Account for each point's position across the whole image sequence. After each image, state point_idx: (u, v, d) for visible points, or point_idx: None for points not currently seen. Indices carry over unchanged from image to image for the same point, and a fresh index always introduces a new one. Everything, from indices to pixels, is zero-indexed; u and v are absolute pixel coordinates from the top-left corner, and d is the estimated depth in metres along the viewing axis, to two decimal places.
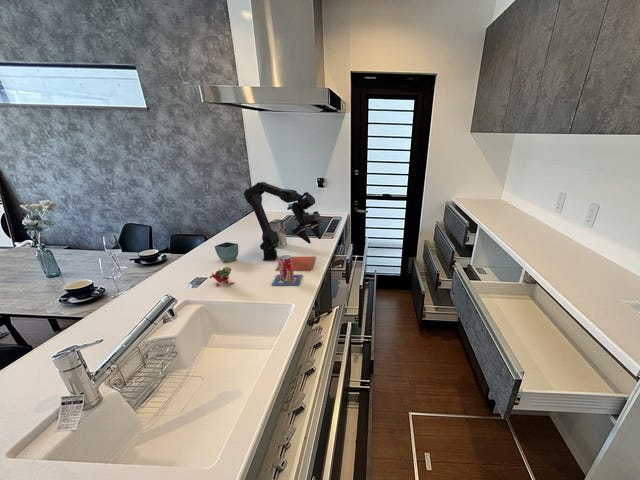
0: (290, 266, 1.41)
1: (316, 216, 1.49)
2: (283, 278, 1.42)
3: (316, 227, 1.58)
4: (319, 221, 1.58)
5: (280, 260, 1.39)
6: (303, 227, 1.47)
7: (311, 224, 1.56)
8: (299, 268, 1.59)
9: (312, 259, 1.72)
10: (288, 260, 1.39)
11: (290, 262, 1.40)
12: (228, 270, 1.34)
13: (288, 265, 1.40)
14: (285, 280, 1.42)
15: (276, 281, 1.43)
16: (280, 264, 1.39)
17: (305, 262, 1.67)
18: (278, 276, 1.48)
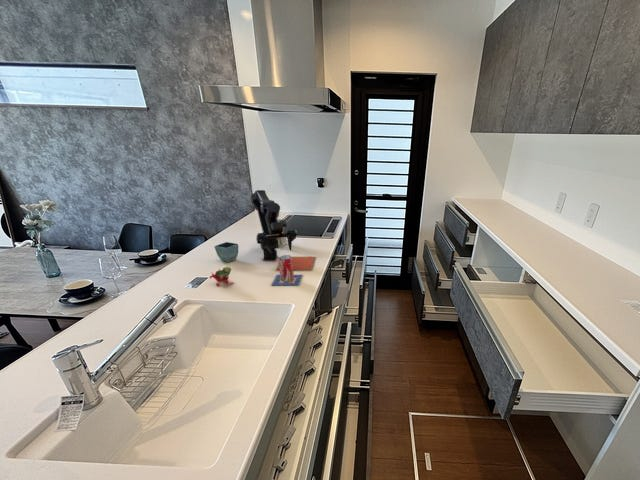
0: (290, 266, 1.41)
1: (277, 224, 1.42)
2: (283, 278, 1.42)
3: (288, 238, 1.49)
4: (292, 232, 1.49)
5: (280, 260, 1.39)
6: (263, 235, 1.42)
7: (283, 235, 1.49)
8: (299, 268, 1.59)
9: (312, 259, 1.72)
10: (288, 260, 1.39)
11: (290, 262, 1.40)
12: (228, 270, 1.34)
13: (288, 265, 1.40)
14: (285, 280, 1.42)
15: (276, 281, 1.43)
16: (280, 264, 1.39)
17: (305, 262, 1.67)
18: (278, 276, 1.48)
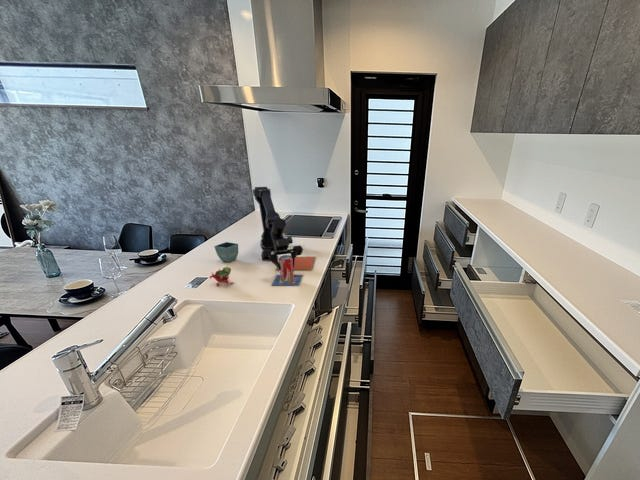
0: (290, 266, 1.41)
1: (283, 241, 1.38)
2: (283, 278, 1.42)
3: (291, 255, 1.44)
4: (298, 248, 1.45)
5: (280, 260, 1.39)
6: (268, 252, 1.38)
7: (286, 251, 1.44)
8: (299, 268, 1.59)
9: (312, 259, 1.72)
10: (288, 260, 1.39)
11: (290, 262, 1.40)
12: (228, 270, 1.34)
13: (288, 265, 1.40)
14: (285, 280, 1.42)
15: (276, 281, 1.43)
16: (280, 264, 1.39)
17: (305, 262, 1.67)
18: (278, 276, 1.48)
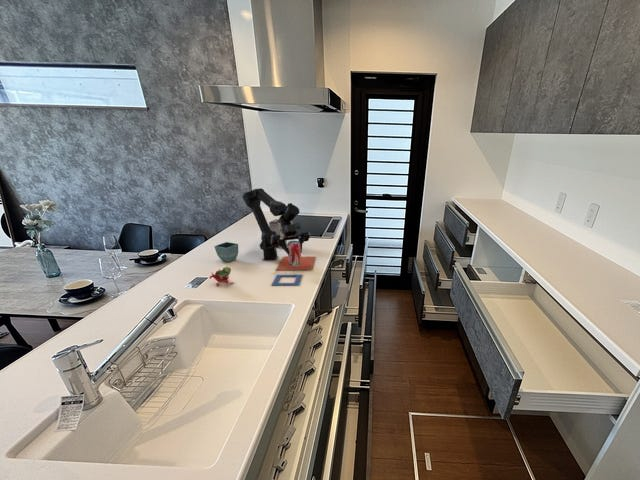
0: (298, 251, 1.47)
1: (292, 226, 1.44)
2: (291, 262, 1.48)
3: (299, 240, 1.50)
4: (305, 234, 1.51)
5: (289, 245, 1.45)
6: (277, 237, 1.44)
7: (294, 237, 1.51)
8: (299, 268, 1.59)
9: (312, 259, 1.72)
10: (296, 245, 1.45)
11: (298, 247, 1.46)
12: (228, 270, 1.34)
13: (296, 250, 1.46)
14: (293, 264, 1.48)
15: (276, 281, 1.43)
16: (289, 249, 1.46)
17: (305, 262, 1.67)
18: (278, 276, 1.48)
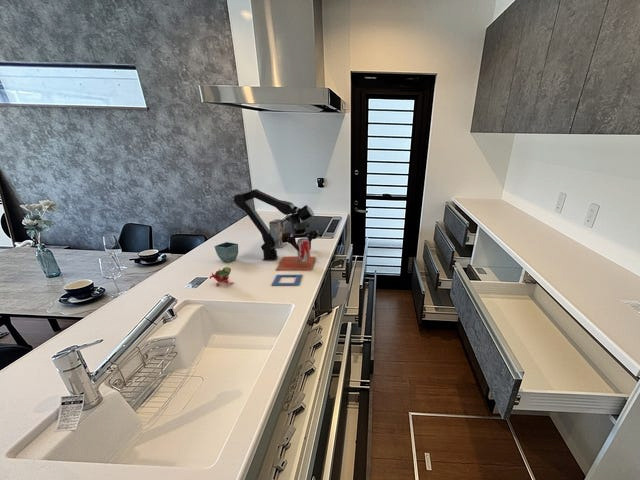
0: (307, 248, 1.56)
1: (301, 225, 1.53)
2: (301, 259, 1.57)
3: (308, 238, 1.60)
4: (314, 232, 1.60)
5: (299, 242, 1.55)
6: (288, 235, 1.54)
7: (303, 235, 1.60)
8: (299, 268, 1.59)
9: (312, 259, 1.72)
10: (306, 242, 1.55)
11: (307, 244, 1.56)
12: (228, 270, 1.34)
13: (305, 247, 1.55)
14: (302, 260, 1.58)
15: (276, 281, 1.43)
16: (298, 246, 1.55)
17: None
18: (278, 276, 1.48)
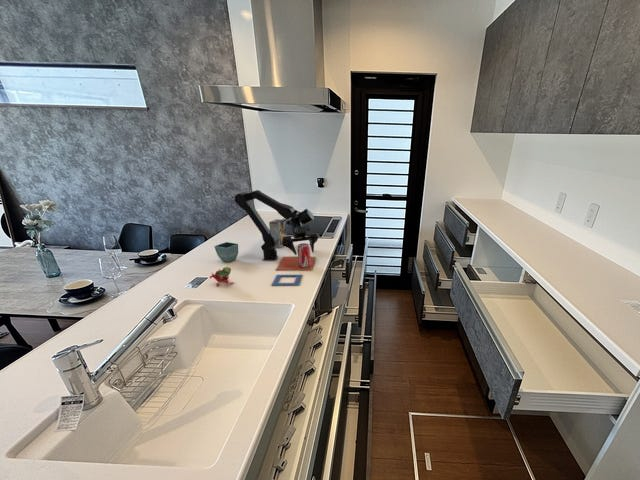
0: (308, 253, 1.58)
1: (302, 228, 1.54)
2: (301, 263, 1.59)
3: (311, 241, 1.61)
4: (314, 235, 1.61)
5: (299, 247, 1.56)
6: (288, 239, 1.54)
7: (306, 238, 1.62)
8: (299, 268, 1.59)
9: (312, 259, 1.72)
10: (306, 247, 1.56)
11: (308, 249, 1.57)
12: (228, 270, 1.34)
13: (306, 252, 1.56)
14: (303, 265, 1.59)
15: (276, 281, 1.43)
16: (299, 251, 1.56)
17: None
18: (278, 276, 1.48)
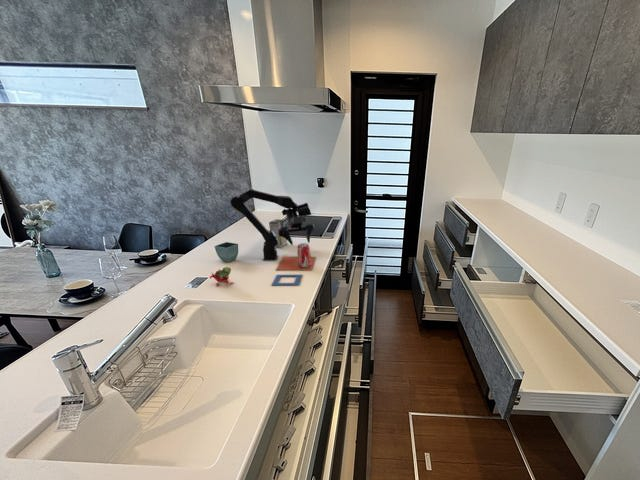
0: (307, 253, 1.57)
1: (298, 219, 1.57)
2: (301, 264, 1.59)
3: (307, 231, 1.64)
4: (310, 226, 1.64)
5: (299, 247, 1.56)
6: (284, 229, 1.58)
7: (302, 228, 1.65)
8: (299, 268, 1.59)
9: (312, 259, 1.72)
10: (306, 247, 1.56)
11: (308, 249, 1.57)
12: (228, 270, 1.34)
13: (306, 252, 1.56)
14: (303, 265, 1.59)
15: (276, 281, 1.43)
16: (299, 251, 1.56)
17: None
18: (278, 276, 1.48)
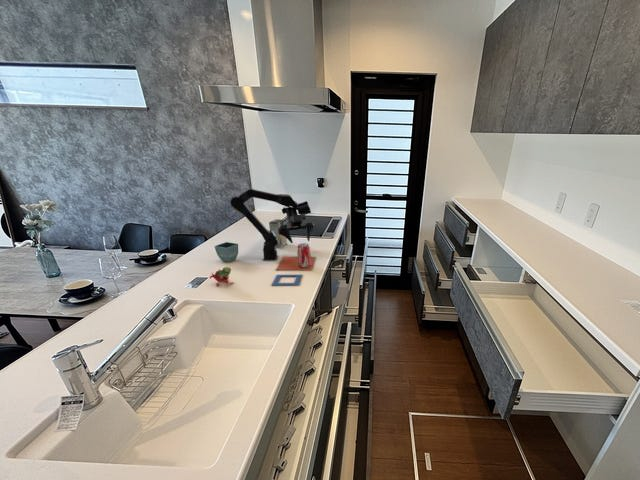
0: (307, 253, 1.57)
1: (298, 217, 1.57)
2: (301, 264, 1.59)
3: (307, 230, 1.64)
4: (310, 224, 1.64)
5: (299, 247, 1.56)
6: (284, 227, 1.57)
7: (302, 227, 1.64)
8: (299, 268, 1.59)
9: (312, 259, 1.72)
10: (306, 247, 1.56)
11: (308, 249, 1.57)
12: (228, 270, 1.34)
13: (306, 252, 1.56)
14: (303, 265, 1.59)
15: (276, 281, 1.43)
16: (299, 251, 1.56)
17: None
18: (278, 276, 1.48)
